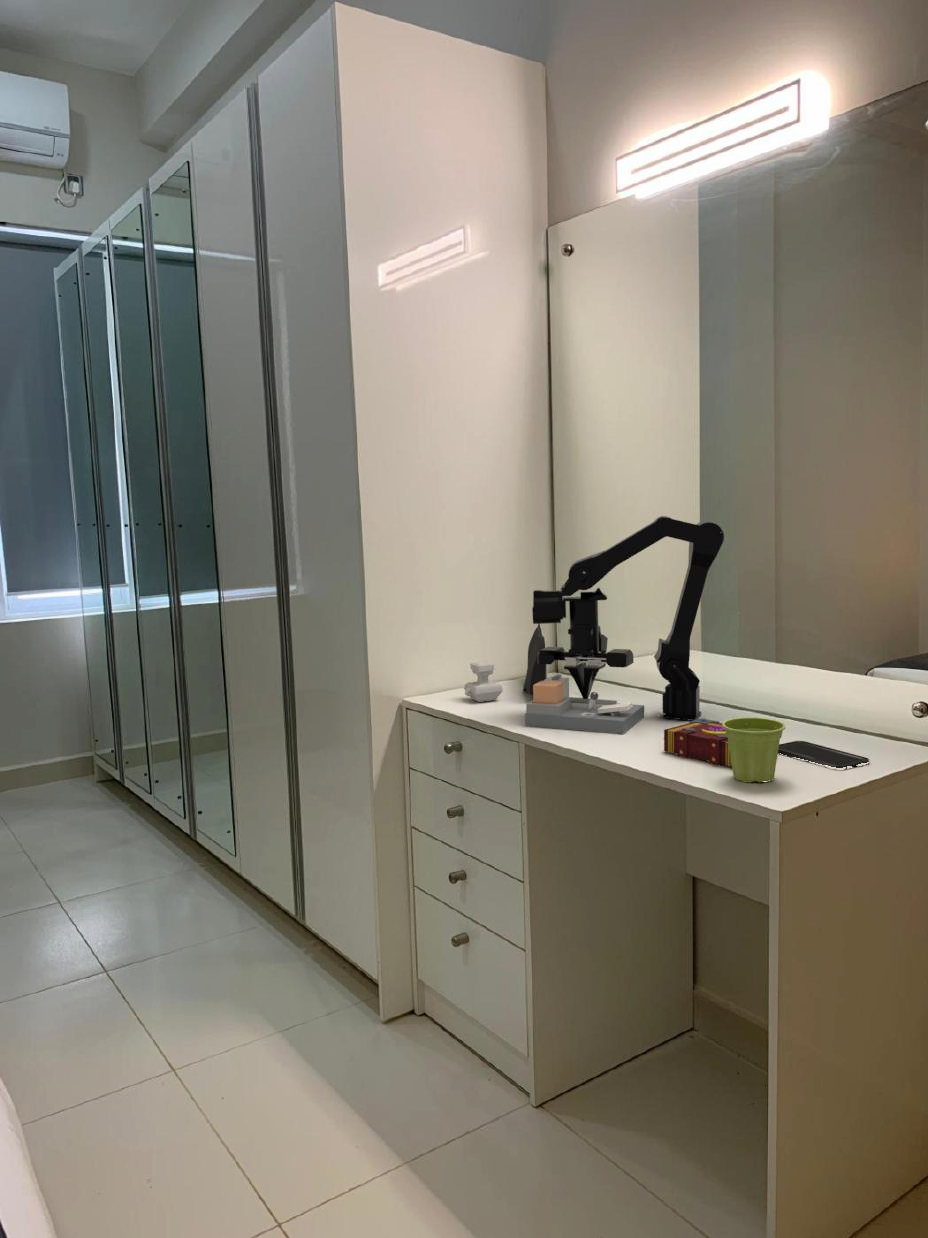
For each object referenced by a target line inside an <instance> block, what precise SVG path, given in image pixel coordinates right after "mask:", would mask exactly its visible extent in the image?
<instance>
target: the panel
mask: <svg viewBox="0 0 928 1238" xmlns="http://www.w3.org/2000/svg"><path fill="white" fill-rule="evenodd" d="M589 700H590V697H589V698H588V699H583V697H573V696H569V699H565V698H564V701H562V702H560V703H558V704H557V705H553V704H539V703H534V702H533V699H532V700H530V701H528V702H526V704H525V706H526V712H525V713H524V726H525V727H533V726H540V727H539V728H545V727H547V728H546V729H559V730H571V731H581V732H582V731H584V732H596V733H605V734H607V733H608V734H619V735H620V734H621V735H624V734H625V733H626V732H628V731H629V730H631V728H633V727H635V726H636V725H637V724H638V723H639V722H640V721H642V720H643V719H644V718H645V705H644V704H635V703H634V704H633V707H632V708H630V709H629V710H626V711H617V712H608V713H598V710H597V709H599V708H600V707H602V706H604V705H613V704H620V703H618V699H607V698H603V699H602V698H598V699H597V700H596V702H595V705H594V708H593V711H592V712H590V711H588V710H586V709H587V706H588V703H589Z"/></svg>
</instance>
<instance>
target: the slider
mask: <svg viewBox="0 0 928 1238" xmlns="http://www.w3.org/2000/svg"><path fill="white" fill-rule="evenodd" d="M544 681H553V682H563V696H564V698H565V699H569V697H570V677H568V676H567V677H566V676H562V674H559V673H557V674H555V675H553V676H548V678H547V679H545V680H544Z"/></svg>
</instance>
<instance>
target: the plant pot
mask: <svg viewBox="0 0 928 1238" xmlns="http://www.w3.org/2000/svg"><path fill="white" fill-rule="evenodd" d="M721 723H722V726H723V728H725V732H726V736H727V737H728V742H729V749H730V755H731V762H732V766H731V768H732V775H733V777H734V779H736V780H737V781H740V780H741V781H740V782H743V781H746V782H745V783H747V782H749V783H753V782H758V783H760V782H763V781H769V780H772V781H773V780H774V779H775V774H776V769H777V768H776V767H777V761H778V755H779V754H778V748H779V744H780V740H781V739H782V735H783V731H784V730H785V729H786V723H784V722H782V721H779V720H776V719H772V718H771V719H770V718H765V717H735V718H730V719H726V720H724V721H723V722H721ZM769 782H770V781H769Z"/></svg>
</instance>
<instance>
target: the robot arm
mask: <svg viewBox="0 0 928 1238" xmlns="http://www.w3.org/2000/svg"><path fill="white" fill-rule="evenodd" d="M667 537H669V538H670V539H671V538H672V539H676V540H680V541H684V542H688V563H687V565H688V566H687V570H686V572H685V576H684V580H683V584H682V588H681V592H680V595H679V599H678V603H677V607H676V610H675V614H674V618H673V622H672V625H671V629H670V632H669V634H668V636H667V638H666V639H663V638H658V642H657V643H658V644H657V645H658V646H657V650H656V653H655V654H654V656H653V657H654V660H655V662H656V668H657V670H658V672H659V674H660V675H661V677H662V678H663V679H665V680H666V681H668V684H667V685H666V686H664V692H663V693H662V714H663V715H662V719H671V720H683V721H684V720H686V721H694V720H697V719H699V717H700V716H701V715H702V711H700V706H701V705H700V699H701V698H700V697H701V696H700V690H701V689H700V687H701V686H700V685H699V684H700V682H701V681H700V678H699V677H698V676H697V674H696V673H695V671H694V670H692V669H691V668H690V667H689V666H690V655H691V654H690V653H691V652H690V651H691V636H692V632H693V629H694V624H695V621H696V617H697V615H698V610H699V606H700V602H701V598H702V595H703V591H704V588H705V585H706V581H707V577H708V573H709V570H710V568H711V566H712V565H713V564H714V561H715V560H716V559H717V556H718V554H719V552H720V549H721V548H722V546H723V543H724V541H725V533H724V531H723V529H722V527H721V526H720V525H718V524H717V523H714V522H713V521H712V522H711V521H700V522H698V523H696V524H695V523H691V522H687V521H682V520H678V519H674V518H671V517H670V516H666V515H661V516H658V517H656V518H655V519H654V521H653V522H651V523H649V524H647V525H645V526H644V527H642V528H641V529H638V530H637V531H635V532H634V533H632V534H630V535H629V536H627V537H625V538H624V539H622V540H620V541H619V542H617V543H615V544H613V545H612V546H610V547H609V548H607V549H605V550H603V551H600V552H597V553H594V554H591V555H589V556H586V557H583V558H581V559H578V560H575V561H574V562H573V563H572V564H571V565H570V567H569V570H568V578H567V580H566V581H565V583H564V584H562V585H561V588H560V590H542V589H534V590H533V593H532V594H533V595H532V596H533V598H532V599H533V601H532V603H533V604H532V611H531V612H532V624H533V625H538V624H541V625H542V624H544V625H545V624H561V623H562V621H561V620H563V619H567V604H566V603H567V602H568V604H569V607H568V608H569V610H568V611H569V628H568V629H567V633H568V635H569V640H570V641H569V643H570V646H569V647H570V648H569V649H568V651H566V650H565V649H564V647H563V646H561V647H560V646H546V648H544V649H542V650H540V651H539V652H538V655H537V663H538V664H548V665H552V664H553V663H554V662H555V661H564V664H565V665H564V666H563V669H564V670H568V672H569V673H570V675H571V677H572V679H573V680H574V682H575V685H576V686H577V688H578V691H579V693H580V695H581V698H583V699H588V698H590V694H591V693H592V688H593V685H594V683H595V679H596V677H597V675H598V672H599V671H600V670H602V669H604V668H605V667H606V665H608V666H609V667H610V668H627V667H629V666H630V665H632V664H634V653H633V651H632V650H631V649H627V648H626V649H625V648H613V649H611V650H610V651H607V650H608V638H609V637H607V636H606V635H605V634H602V631H601V626H600V625H599V601H607V600H608V597H607V595H606V594H605V593H604V592H603V591H602V590H601V588H600V587H597V588H596V589H595V591H594V590H593V591H587V590H589V589H592V588H593V587H594V586H595V585H596V584H597V583H599V582H600V581H601V580H602V579H603V578H604V577H606V576H607V575H608V574H609V573H610V572H611V571H612V570H614V568H616V567H617V566H618V565H620V564H622V563H624V562H626V561H627V560H629V559H631V558H632V557H634V556H636V555H638V554H639V553H641V552H642V551H644V550H645V549H647V548H649V547H651V546H652V545H654V544H656V543H657V542H659V541H661V540H663V539H665V538H667ZM578 591H580V592H579V593H580V594H579V595H580V596H572V595H574V594H576V593H577V592H578Z"/></svg>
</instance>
